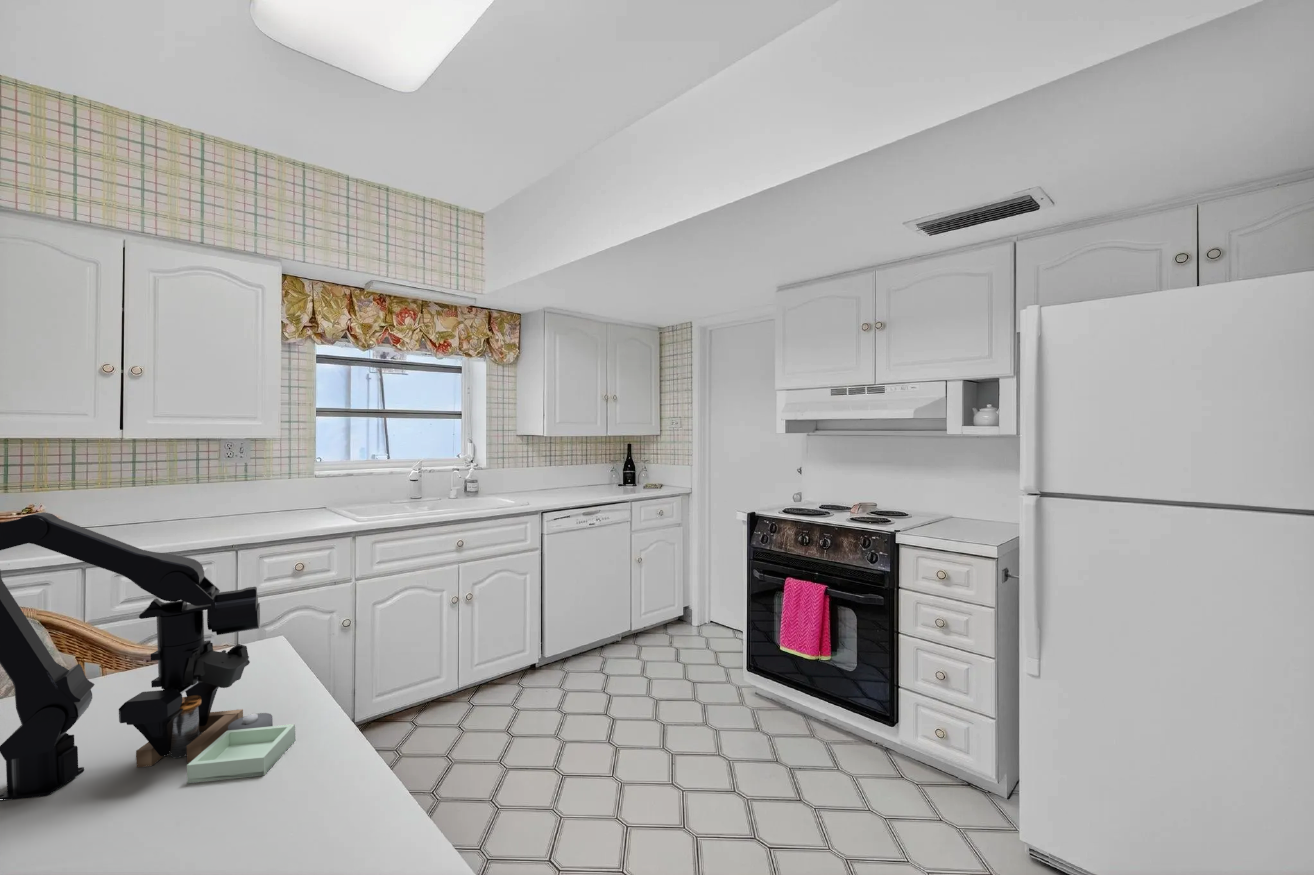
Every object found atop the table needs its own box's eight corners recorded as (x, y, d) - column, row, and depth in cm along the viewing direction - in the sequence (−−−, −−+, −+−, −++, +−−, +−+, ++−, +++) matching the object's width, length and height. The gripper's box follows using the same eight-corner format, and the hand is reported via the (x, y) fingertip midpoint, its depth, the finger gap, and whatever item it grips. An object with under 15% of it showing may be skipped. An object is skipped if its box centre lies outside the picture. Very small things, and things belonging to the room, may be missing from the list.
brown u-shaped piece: (136, 767, 88) (136, 750, 88) (186, 729, 100) (186, 714, 100) (201, 760, 90) (201, 744, 90) (243, 723, 101) (242, 709, 101)
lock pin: (160, 760, 90) (158, 709, 90) (178, 745, 95) (177, 696, 94) (192, 757, 91) (190, 706, 91) (209, 742, 95) (207, 694, 95)
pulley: (220, 747, 93) (219, 727, 93) (240, 729, 99) (240, 710, 99) (261, 743, 94) (261, 723, 94) (279, 725, 100) (279, 706, 100)
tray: (187, 783, 84) (186, 765, 84) (227, 746, 94) (226, 730, 94) (264, 775, 85) (263, 757, 85) (295, 740, 95) (295, 724, 95)
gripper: (201, 658, 85) (205, 766, 85) (266, 618, 103) (269, 707, 103) (114, 664, 83) (117, 775, 83) (196, 623, 101) (199, 714, 101)
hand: (184, 739), depth 93 cm, fingers open, 9 cm apart
